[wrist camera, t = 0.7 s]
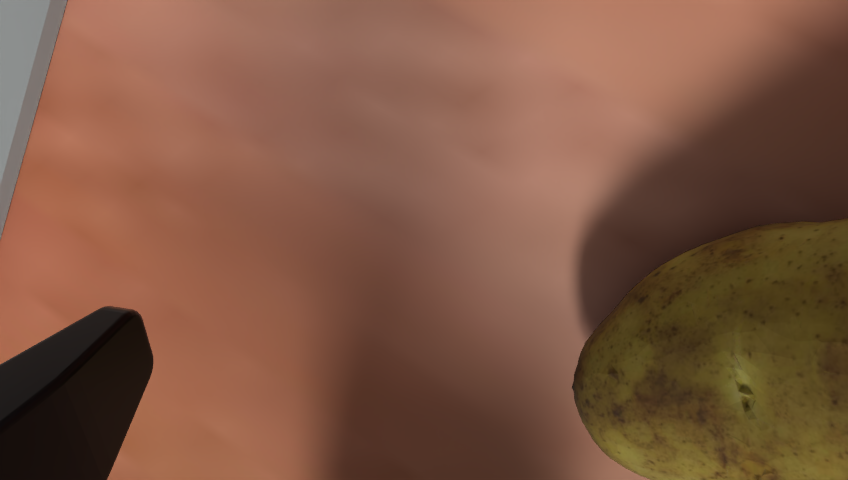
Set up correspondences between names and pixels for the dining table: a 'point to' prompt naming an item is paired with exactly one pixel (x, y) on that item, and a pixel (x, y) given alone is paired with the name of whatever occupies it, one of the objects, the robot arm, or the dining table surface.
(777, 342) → the potato
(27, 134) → the rubber mat
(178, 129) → the dining table surface
